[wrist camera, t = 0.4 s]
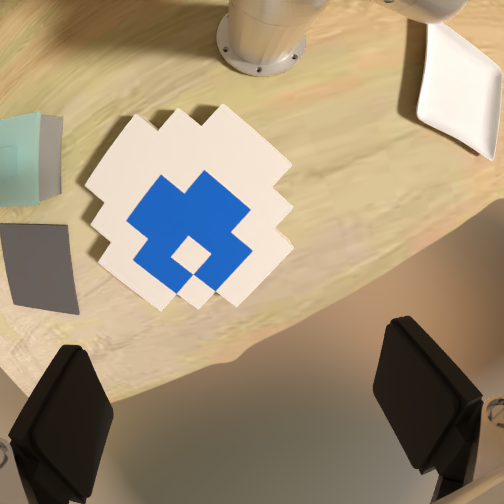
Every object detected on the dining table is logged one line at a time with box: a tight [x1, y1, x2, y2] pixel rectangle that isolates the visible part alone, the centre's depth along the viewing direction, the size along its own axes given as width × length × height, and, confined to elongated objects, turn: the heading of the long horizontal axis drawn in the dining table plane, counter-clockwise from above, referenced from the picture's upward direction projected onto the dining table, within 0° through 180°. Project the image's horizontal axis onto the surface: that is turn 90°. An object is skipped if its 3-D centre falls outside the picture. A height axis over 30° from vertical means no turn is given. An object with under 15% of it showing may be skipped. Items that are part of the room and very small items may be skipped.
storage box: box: [39, 115, 63, 202], centre depth 33 cm, size 12×14×7 cm
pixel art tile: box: [85, 104, 294, 312], centre depth 41 cm, size 28×4×28 cm
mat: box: [0, 223, 80, 315], centre depth 42 cm, size 16×16×1 cm
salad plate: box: [416, 23, 502, 161], centre depth 37 cm, size 21×21×3 cm
